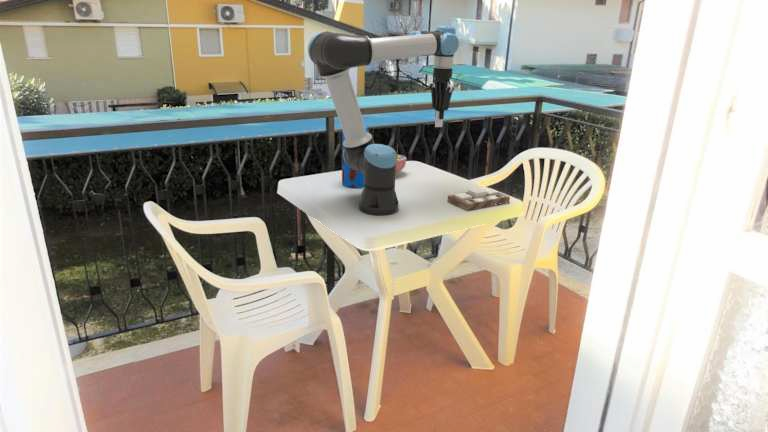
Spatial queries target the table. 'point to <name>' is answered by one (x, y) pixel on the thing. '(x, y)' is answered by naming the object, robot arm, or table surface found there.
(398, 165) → the cell model
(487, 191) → the button right
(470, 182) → the table surface
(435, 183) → the table surface
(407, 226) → the table surface
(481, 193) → the button middle
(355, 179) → the thermos
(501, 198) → the button board
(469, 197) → the button left
